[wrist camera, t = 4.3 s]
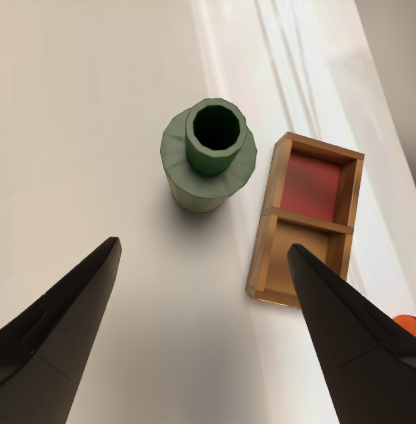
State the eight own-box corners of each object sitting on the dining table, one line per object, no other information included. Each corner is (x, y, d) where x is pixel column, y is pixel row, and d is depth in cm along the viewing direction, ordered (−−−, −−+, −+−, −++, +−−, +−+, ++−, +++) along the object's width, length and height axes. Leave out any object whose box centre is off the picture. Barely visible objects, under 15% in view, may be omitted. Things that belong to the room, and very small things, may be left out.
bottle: (193, 224, 23) (203, 213, 10) (160, 178, 23) (126, 109, 10) (237, 192, 24) (299, 143, 11) (205, 148, 24) (228, 49, 11)
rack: (321, 306, 23) (341, 317, 20) (245, 290, 22) (254, 298, 19) (344, 163, 25) (364, 154, 22) (275, 143, 25) (287, 131, 22)
